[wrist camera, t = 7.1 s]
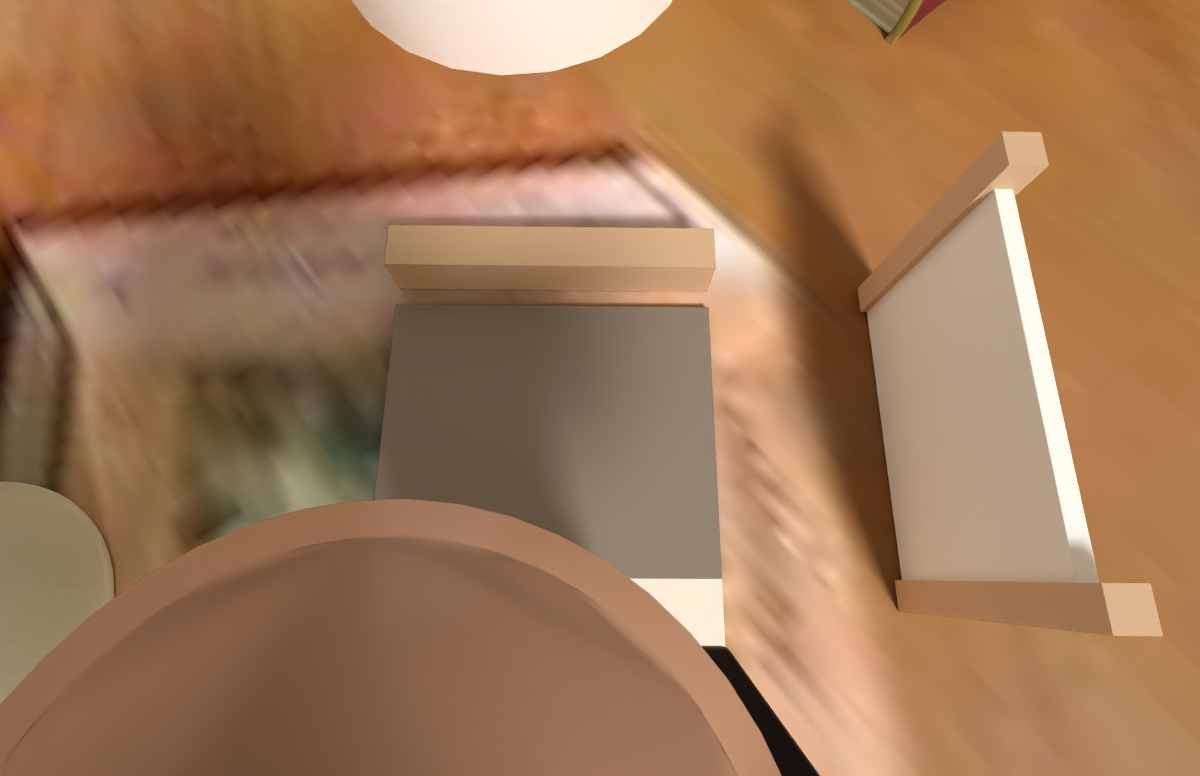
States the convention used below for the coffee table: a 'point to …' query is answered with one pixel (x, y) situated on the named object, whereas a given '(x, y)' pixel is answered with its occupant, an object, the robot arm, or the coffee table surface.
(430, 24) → the cylinder
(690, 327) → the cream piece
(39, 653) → the can
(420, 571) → the tan tall round cup
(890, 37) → the hardcover book
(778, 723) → the robot arm
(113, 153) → the coffee table surface
